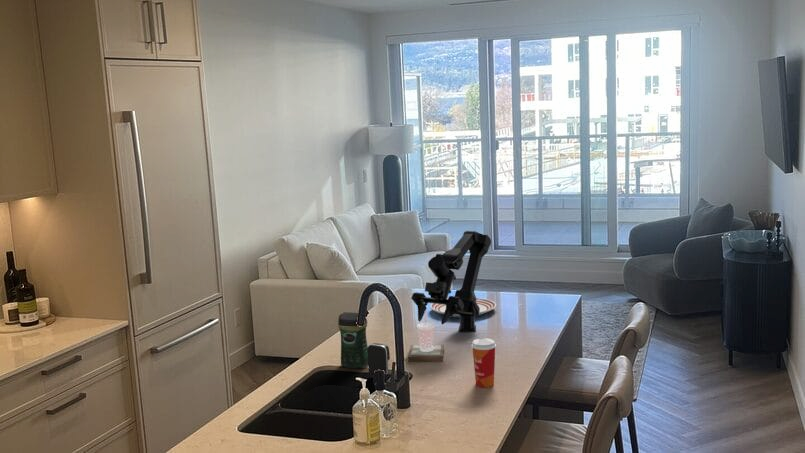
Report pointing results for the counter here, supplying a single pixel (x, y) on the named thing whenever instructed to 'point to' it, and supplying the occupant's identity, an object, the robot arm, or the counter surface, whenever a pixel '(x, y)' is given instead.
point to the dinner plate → (483, 304)
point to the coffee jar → (352, 341)
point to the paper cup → (484, 362)
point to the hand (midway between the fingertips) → (430, 322)
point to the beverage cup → (426, 336)
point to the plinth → (426, 354)
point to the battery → (377, 357)
